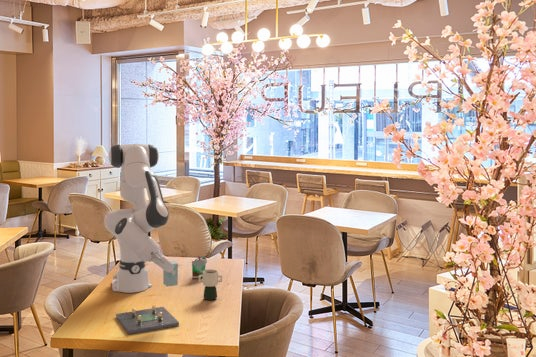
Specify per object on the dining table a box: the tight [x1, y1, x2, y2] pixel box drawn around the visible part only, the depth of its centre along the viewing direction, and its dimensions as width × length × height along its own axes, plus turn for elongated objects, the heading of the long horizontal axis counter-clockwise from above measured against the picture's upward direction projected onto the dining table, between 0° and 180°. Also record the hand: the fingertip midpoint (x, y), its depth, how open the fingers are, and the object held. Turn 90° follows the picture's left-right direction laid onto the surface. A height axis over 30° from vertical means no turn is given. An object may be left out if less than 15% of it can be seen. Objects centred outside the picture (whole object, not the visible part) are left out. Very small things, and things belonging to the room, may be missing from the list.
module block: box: [162, 260, 179, 287], centre depth 215 cm, size 4×4×9 cm
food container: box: [191, 255, 208, 280], centre depth 275 cm, size 12×6×10 cm, turn 171°
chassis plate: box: [115, 305, 180, 336], centre depth 211 cm, size 20×20×4 cm
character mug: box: [198, 268, 223, 301], centre depth 241 cm, size 11×7×13 cm, turn 93°
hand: (171, 271), depth 215 cm, fingers closed on module block, 4 cm apart
